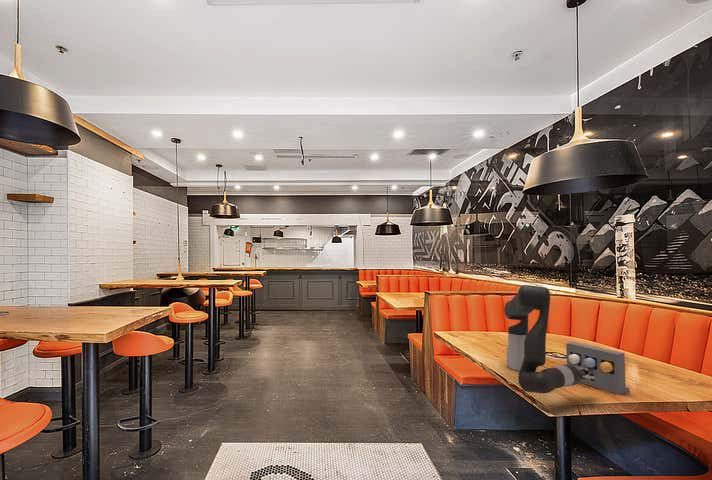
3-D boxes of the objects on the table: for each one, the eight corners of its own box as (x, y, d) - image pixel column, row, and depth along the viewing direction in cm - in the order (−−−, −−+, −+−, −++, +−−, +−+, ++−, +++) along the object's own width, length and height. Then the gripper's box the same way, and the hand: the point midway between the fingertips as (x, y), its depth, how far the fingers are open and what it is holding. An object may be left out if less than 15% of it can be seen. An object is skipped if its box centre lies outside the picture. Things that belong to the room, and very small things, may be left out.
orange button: (599, 370, 144) (599, 361, 144) (603, 369, 145) (603, 360, 145) (610, 373, 140) (610, 363, 140) (614, 372, 142) (614, 362, 142)
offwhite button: (568, 362, 155) (568, 353, 156) (572, 361, 157) (572, 352, 157) (577, 364, 152) (577, 355, 152) (581, 364, 153) (581, 354, 153)
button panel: (567, 378, 157) (566, 343, 158) (577, 376, 161) (576, 341, 162) (619, 394, 139) (617, 354, 140) (629, 391, 142) (628, 352, 143)
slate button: (583, 366, 150) (583, 357, 150) (587, 365, 151) (587, 356, 151) (593, 369, 146) (593, 359, 146) (597, 368, 147) (597, 358, 148)
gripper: (581, 370, 124) (608, 364, 132) (546, 361, 136) (573, 356, 143) (581, 392, 123) (609, 384, 131) (547, 380, 135) (573, 374, 143)
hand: (590, 369), depth 137 cm, fingers closed
